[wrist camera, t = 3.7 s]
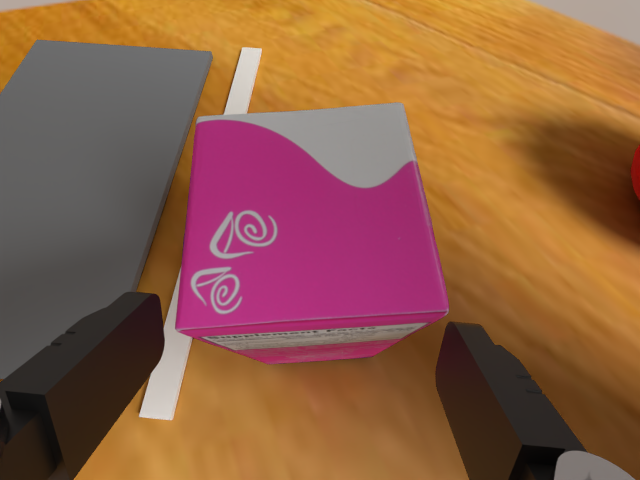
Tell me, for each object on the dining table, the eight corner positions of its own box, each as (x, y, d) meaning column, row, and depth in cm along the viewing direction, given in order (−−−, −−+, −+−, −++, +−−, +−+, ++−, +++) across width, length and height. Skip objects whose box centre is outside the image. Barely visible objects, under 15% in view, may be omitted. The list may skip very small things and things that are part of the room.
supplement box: (261, 260, 19) (192, 104, 9) (363, 254, 19) (417, 95, 9) (260, 367, 17) (164, 333, 6) (376, 359, 17) (473, 312, 6)
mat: (212, 57, 26) (211, 51, 26) (103, 388, 16) (97, 388, 16) (41, 45, 26) (36, 39, 26) (-167, 361, 17) (-180, 360, 16)
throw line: (261, 52, 26) (261, 48, 26) (172, 419, 16) (170, 420, 15) (243, 50, 26) (242, 47, 26) (142, 416, 16) (138, 416, 15)
